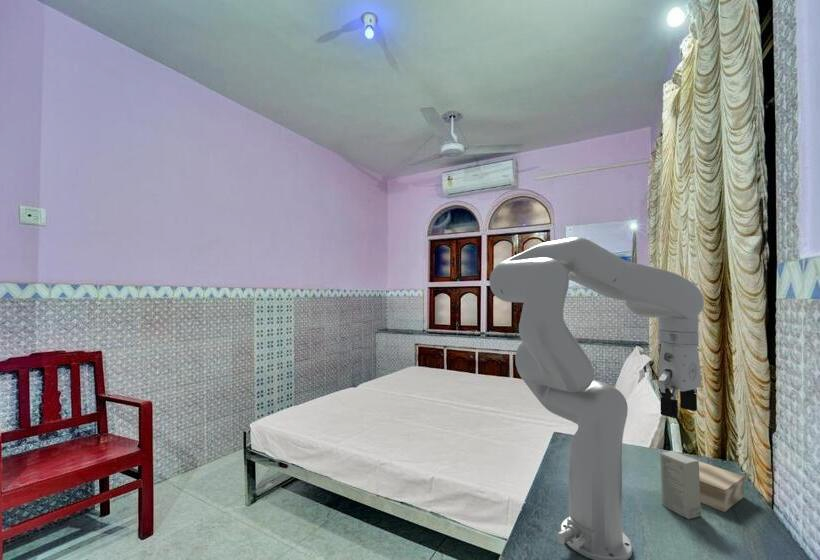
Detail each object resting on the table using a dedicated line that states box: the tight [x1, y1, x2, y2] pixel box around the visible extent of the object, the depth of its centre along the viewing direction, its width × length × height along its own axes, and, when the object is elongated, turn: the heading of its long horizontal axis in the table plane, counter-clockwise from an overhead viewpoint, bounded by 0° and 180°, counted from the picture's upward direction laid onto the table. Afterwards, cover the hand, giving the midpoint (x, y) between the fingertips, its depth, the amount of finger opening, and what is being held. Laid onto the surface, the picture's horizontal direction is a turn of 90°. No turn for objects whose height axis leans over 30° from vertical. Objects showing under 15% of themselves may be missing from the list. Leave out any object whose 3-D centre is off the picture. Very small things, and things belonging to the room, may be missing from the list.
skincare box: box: [659, 450, 702, 520], centre depth 83 cm, size 6×4×12 cm
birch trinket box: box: [698, 460, 746, 513], centre depth 90 cm, size 12×9×5 cm
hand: (679, 412), depth 84 cm, fingers open, 9 cm apart
